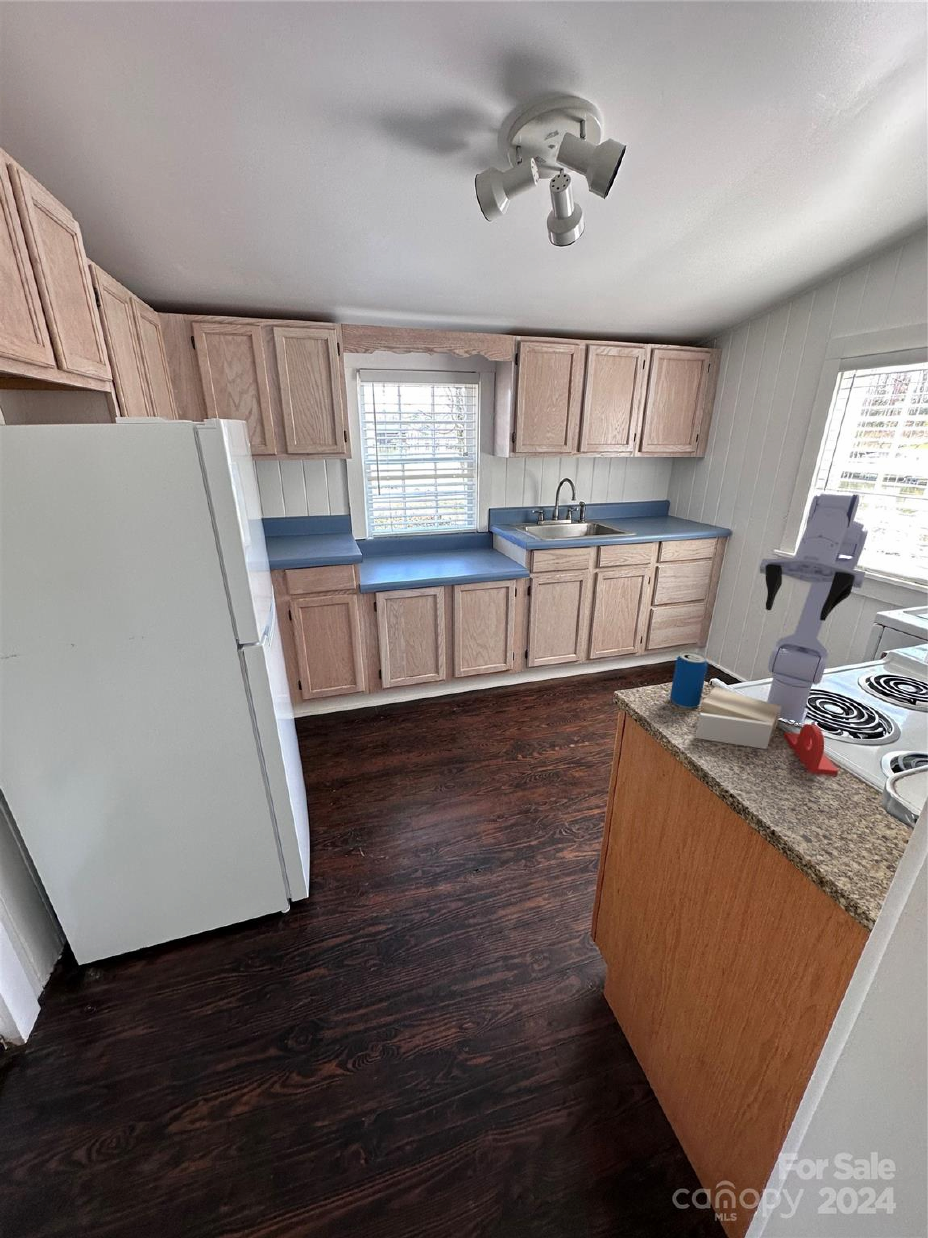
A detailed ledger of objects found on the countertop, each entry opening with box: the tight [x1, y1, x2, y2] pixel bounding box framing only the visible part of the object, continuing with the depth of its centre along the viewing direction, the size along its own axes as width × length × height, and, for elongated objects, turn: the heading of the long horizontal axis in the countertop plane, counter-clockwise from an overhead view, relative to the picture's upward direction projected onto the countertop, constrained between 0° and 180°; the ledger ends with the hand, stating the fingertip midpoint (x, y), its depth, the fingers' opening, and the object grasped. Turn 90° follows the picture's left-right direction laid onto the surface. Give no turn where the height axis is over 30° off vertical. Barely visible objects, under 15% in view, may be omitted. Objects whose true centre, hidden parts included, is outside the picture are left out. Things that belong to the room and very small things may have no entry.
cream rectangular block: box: [699, 686, 782, 744], centre depth 105 cm, size 9×13×6 cm
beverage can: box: [669, 651, 708, 709], centre depth 113 cm, size 6×6×12 cm
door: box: [695, 712, 773, 750], centre depth 99 cm, size 1×13×6 cm, turn 74°
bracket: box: [783, 723, 839, 776], centre depth 96 cm, size 12×4×8 cm, turn 169°
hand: (794, 611), depth 80 cm, fingers open, 7 cm apart
